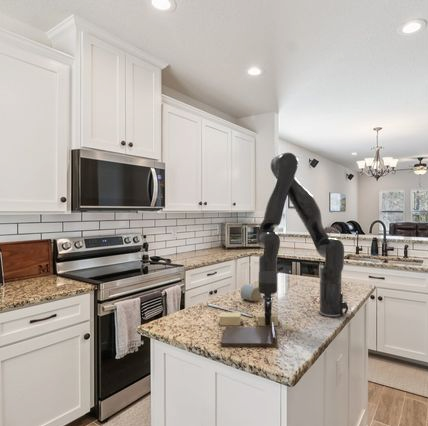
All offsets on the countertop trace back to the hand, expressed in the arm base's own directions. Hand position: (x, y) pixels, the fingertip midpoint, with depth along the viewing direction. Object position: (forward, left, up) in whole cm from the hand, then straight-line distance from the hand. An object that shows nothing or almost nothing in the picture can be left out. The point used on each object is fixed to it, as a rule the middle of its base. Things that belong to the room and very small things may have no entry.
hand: (267, 322), depth 121 cm
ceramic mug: (+7, -32, -1) cm, 33 cm away
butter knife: (+17, -15, 0) cm, 23 cm away
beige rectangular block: (0, 0, 0) cm, 0 cm away
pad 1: (+15, 0, 0) cm, 15 cm away
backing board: (+7, +14, 0) cm, 16 cm away
